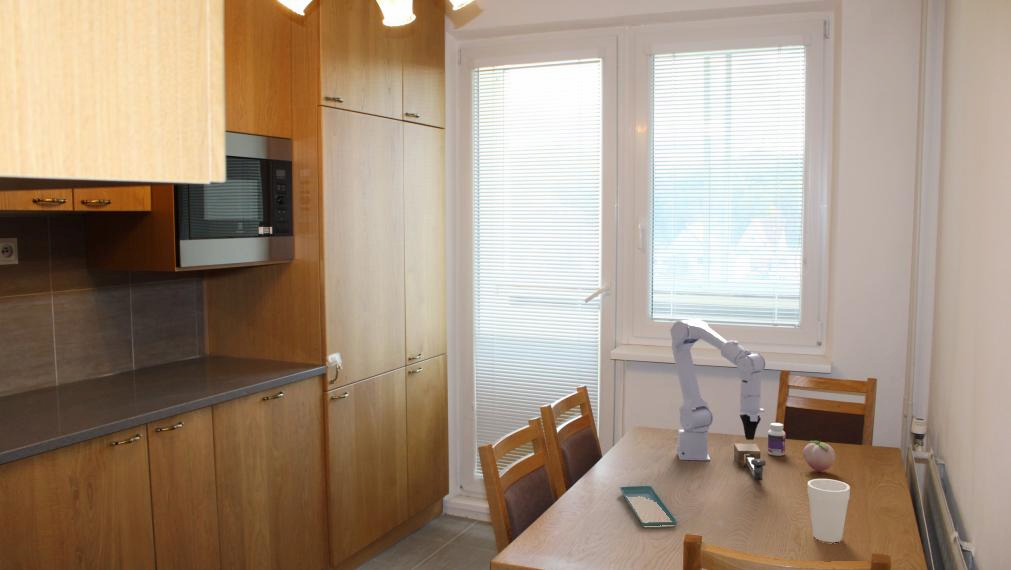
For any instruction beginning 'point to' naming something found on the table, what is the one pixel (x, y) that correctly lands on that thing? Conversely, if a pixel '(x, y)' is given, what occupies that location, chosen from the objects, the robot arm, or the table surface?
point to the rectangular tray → (647, 493)
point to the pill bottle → (776, 440)
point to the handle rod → (755, 467)
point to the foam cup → (828, 508)
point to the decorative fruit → (819, 455)
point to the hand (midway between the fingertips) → (749, 439)
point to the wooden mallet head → (745, 452)
